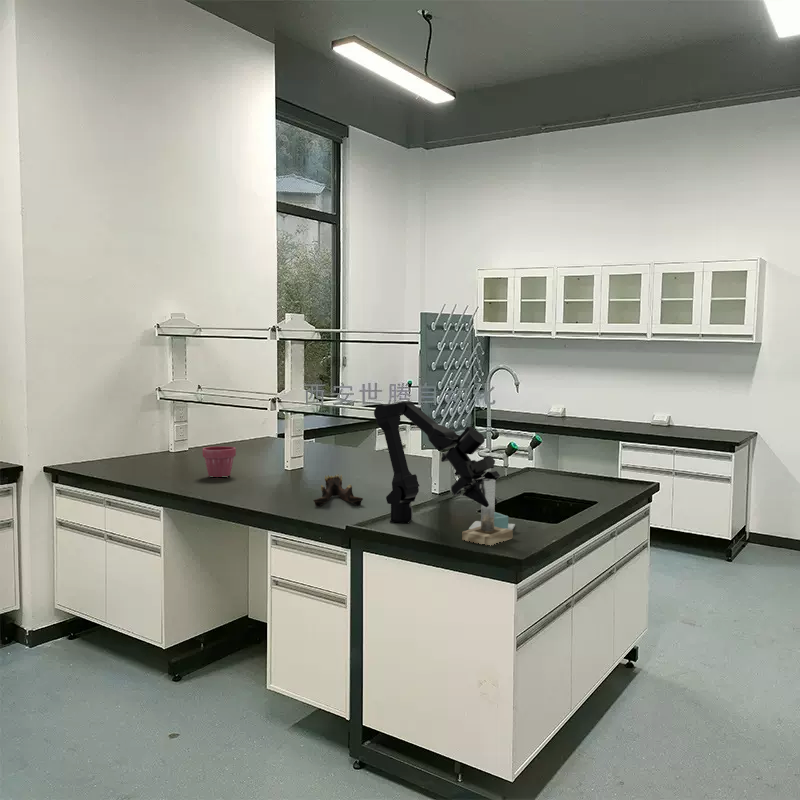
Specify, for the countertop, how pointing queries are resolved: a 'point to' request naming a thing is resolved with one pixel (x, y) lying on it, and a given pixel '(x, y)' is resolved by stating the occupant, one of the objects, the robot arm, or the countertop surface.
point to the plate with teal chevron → (497, 522)
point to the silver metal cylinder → (489, 511)
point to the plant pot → (219, 460)
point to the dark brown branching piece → (336, 491)
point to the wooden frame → (487, 535)
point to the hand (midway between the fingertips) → (491, 505)
